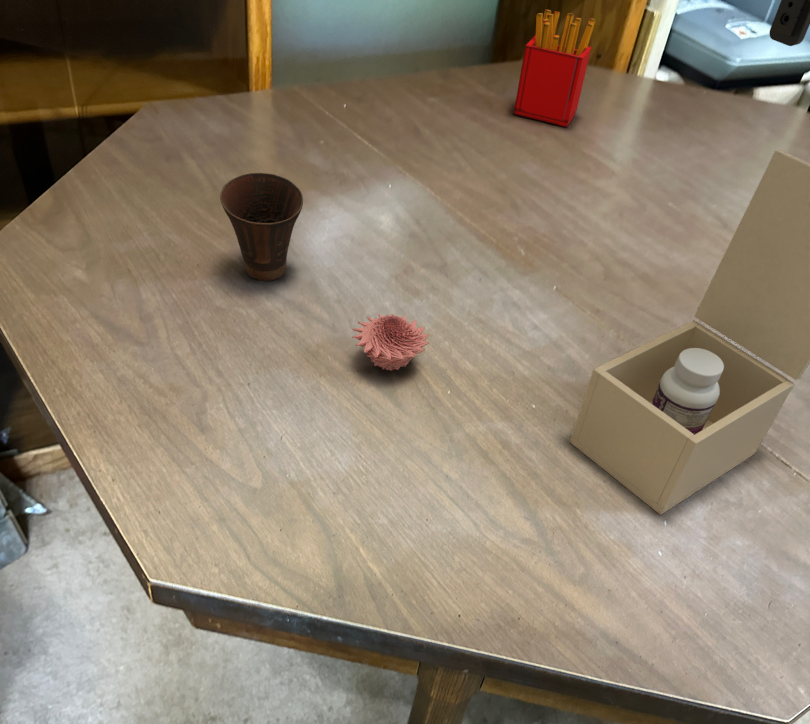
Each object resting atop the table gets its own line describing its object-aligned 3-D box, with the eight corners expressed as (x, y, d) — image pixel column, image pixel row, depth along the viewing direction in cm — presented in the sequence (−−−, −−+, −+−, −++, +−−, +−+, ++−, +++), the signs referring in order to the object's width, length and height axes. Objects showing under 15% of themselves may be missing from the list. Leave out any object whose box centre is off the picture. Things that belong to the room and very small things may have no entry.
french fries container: (524, 101, 131) (542, 5, 120) (576, 114, 129) (598, 17, 119) (512, 116, 127) (530, 17, 116) (566, 129, 125) (588, 30, 114)
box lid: (903, 210, 58) (933, 202, 61) (775, 150, 64) (808, 145, 67) (795, 380, 69) (825, 366, 72) (693, 316, 75) (725, 306, 78)
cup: (249, 305, 86) (241, 219, 78) (215, 266, 90) (205, 181, 83) (318, 286, 89) (318, 202, 82) (282, 249, 94) (279, 166, 86)
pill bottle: (643, 417, 77) (676, 335, 70) (695, 433, 76) (735, 352, 69) (633, 450, 74) (667, 368, 67) (688, 467, 73) (729, 386, 66)
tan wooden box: (660, 515, 70) (696, 443, 63) (569, 442, 75) (593, 368, 69) (754, 454, 76) (795, 383, 70) (664, 391, 82) (694, 319, 75)
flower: (440, 376, 80) (446, 331, 76) (372, 396, 77) (375, 350, 73) (403, 335, 85) (407, 290, 80) (337, 352, 82) (338, 306, 77)
